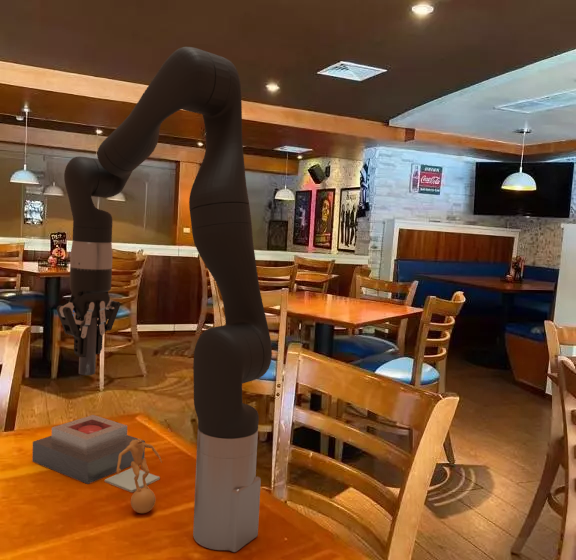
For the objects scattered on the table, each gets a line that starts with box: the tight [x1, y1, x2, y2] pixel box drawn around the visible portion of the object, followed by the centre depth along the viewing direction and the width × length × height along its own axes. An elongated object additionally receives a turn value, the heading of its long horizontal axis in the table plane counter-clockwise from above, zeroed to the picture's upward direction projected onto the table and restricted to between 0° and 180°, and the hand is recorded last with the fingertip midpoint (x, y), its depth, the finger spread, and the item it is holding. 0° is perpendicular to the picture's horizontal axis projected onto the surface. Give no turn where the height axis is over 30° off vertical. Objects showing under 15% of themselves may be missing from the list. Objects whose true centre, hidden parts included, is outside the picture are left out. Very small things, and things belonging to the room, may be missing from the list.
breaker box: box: [31, 414, 146, 485], centre depth 117 cm, size 16×14×7 cm
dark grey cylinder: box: [78, 317, 98, 376], centre depth 113 cm, size 3×3×11 cm
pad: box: [104, 467, 161, 493], centre depth 109 cm, size 7×7×1 cm
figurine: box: [116, 438, 163, 514], centre depth 98 cm, size 8×6×12 cm
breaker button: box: [78, 425, 102, 434], centre depth 116 cm, size 4×4×4 cm
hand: (88, 354), depth 113 cm, fingers closed on dark grey cylinder, 3 cm apart
